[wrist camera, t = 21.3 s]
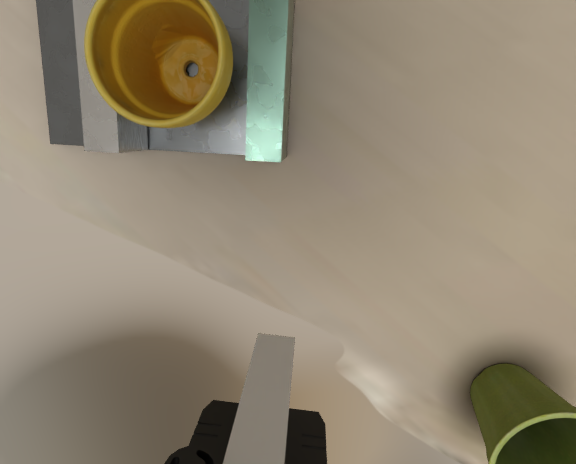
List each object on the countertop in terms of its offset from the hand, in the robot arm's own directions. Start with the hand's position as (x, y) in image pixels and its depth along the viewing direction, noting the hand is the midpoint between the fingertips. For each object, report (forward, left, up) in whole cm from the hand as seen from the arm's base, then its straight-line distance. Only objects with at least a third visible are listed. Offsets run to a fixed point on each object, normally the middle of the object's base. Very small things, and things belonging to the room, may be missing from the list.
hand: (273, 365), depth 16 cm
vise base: (-14, -14, -26) cm, 33 cm away
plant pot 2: (+18, +24, -27) cm, 41 cm away
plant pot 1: (-14, -11, -25) cm, 31 cm away
